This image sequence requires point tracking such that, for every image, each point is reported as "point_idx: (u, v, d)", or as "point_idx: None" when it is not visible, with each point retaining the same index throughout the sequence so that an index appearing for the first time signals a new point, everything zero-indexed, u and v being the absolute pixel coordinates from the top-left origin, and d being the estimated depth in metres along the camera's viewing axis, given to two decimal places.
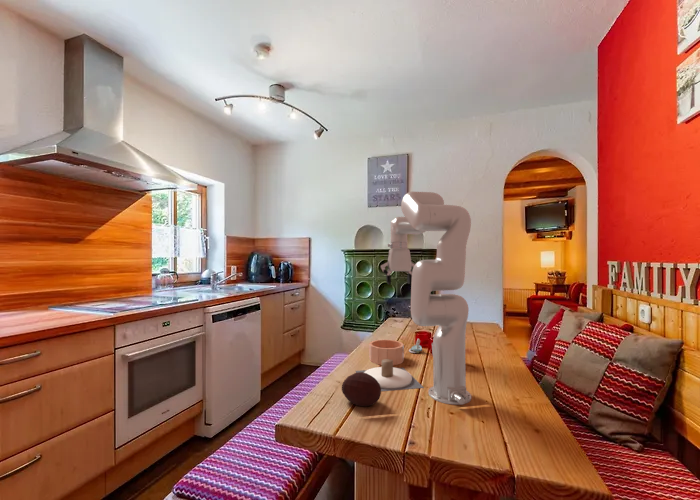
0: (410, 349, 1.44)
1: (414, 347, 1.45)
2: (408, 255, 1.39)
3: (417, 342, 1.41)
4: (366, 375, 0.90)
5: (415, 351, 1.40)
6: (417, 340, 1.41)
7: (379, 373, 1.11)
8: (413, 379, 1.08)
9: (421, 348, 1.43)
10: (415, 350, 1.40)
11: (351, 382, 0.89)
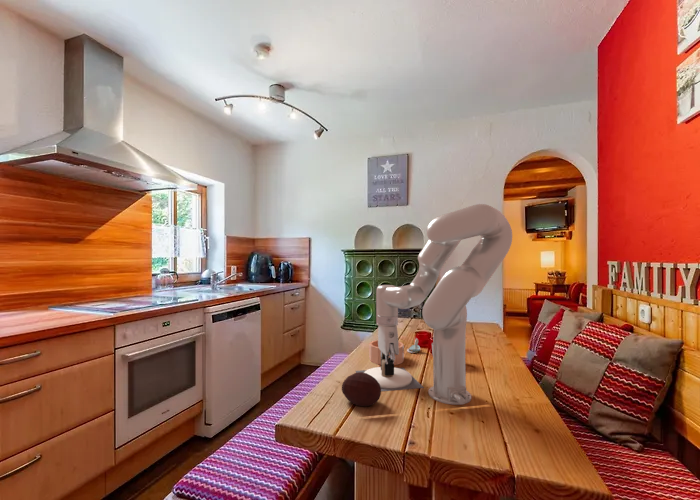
0: (408, 349, 1.44)
1: (412, 347, 1.45)
2: None
3: (415, 342, 1.41)
4: (366, 375, 0.90)
5: (413, 351, 1.41)
6: (415, 340, 1.41)
7: (379, 373, 1.11)
8: (413, 379, 1.08)
9: (419, 348, 1.44)
10: (413, 350, 1.40)
11: (351, 382, 0.89)
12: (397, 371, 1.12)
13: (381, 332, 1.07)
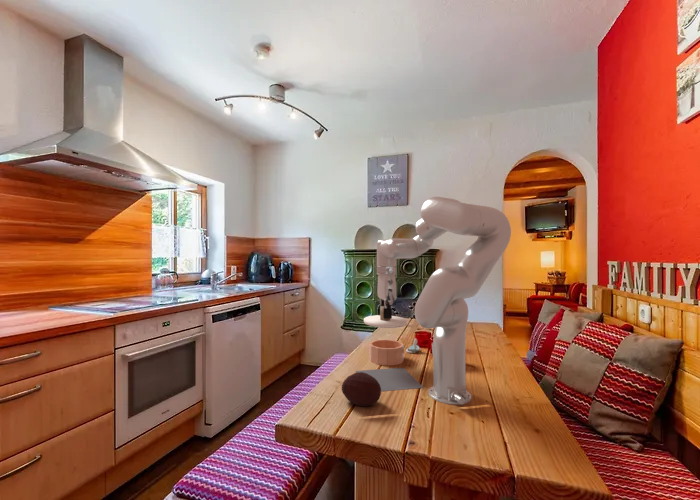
0: (407, 349, 1.44)
1: (411, 347, 1.45)
2: None
3: (414, 342, 1.41)
4: (366, 375, 0.90)
5: (412, 351, 1.41)
6: (414, 340, 1.42)
7: (378, 318, 1.24)
8: (413, 379, 1.08)
9: (418, 348, 1.44)
10: (412, 350, 1.40)
11: (351, 382, 0.89)
12: (394, 317, 1.26)
13: (381, 281, 1.20)
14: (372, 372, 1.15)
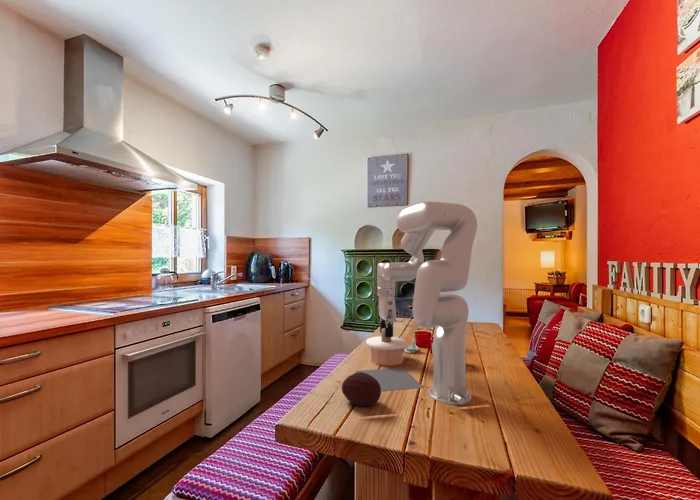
0: (406, 349, 1.44)
1: (410, 347, 1.45)
2: None
3: (413, 342, 1.41)
4: (366, 375, 0.90)
5: (411, 351, 1.41)
6: (413, 340, 1.42)
7: (380, 340, 1.31)
8: (413, 379, 1.08)
9: (417, 348, 1.44)
10: (411, 350, 1.40)
11: (351, 382, 0.89)
12: (395, 338, 1.33)
13: (381, 301, 1.28)
14: (372, 372, 1.15)
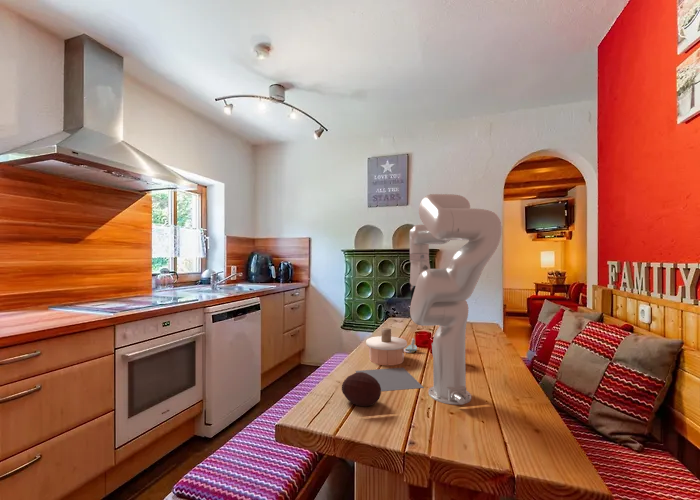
0: (405, 349, 1.44)
1: (409, 347, 1.45)
2: None
3: (412, 342, 1.41)
4: (366, 375, 0.90)
5: (410, 351, 1.41)
6: (412, 340, 1.42)
7: (380, 340, 1.31)
8: (413, 379, 1.08)
9: (416, 348, 1.44)
10: (410, 350, 1.40)
11: (351, 382, 0.89)
12: (395, 338, 1.33)
13: (415, 267, 1.23)
14: (372, 372, 1.15)
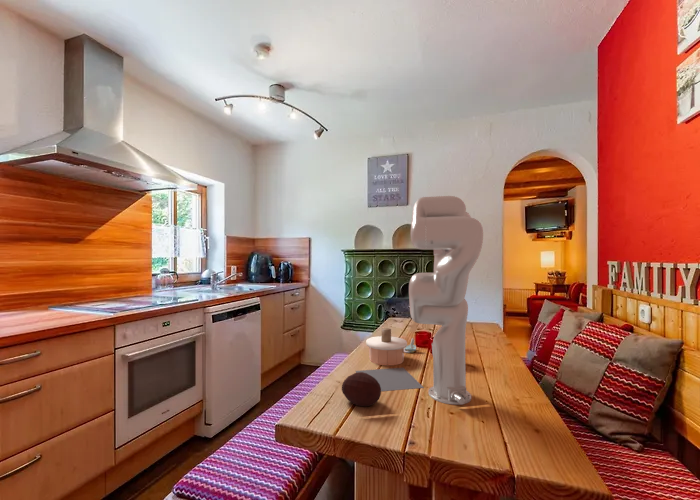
0: (404, 349, 1.44)
1: (408, 347, 1.45)
2: None
3: (411, 342, 1.42)
4: (366, 375, 0.90)
5: (409, 351, 1.41)
6: (411, 340, 1.42)
7: (380, 340, 1.31)
8: (413, 379, 1.08)
9: (415, 348, 1.44)
10: (409, 350, 1.40)
11: (351, 382, 0.89)
12: (395, 338, 1.33)
13: None
14: (372, 372, 1.15)
